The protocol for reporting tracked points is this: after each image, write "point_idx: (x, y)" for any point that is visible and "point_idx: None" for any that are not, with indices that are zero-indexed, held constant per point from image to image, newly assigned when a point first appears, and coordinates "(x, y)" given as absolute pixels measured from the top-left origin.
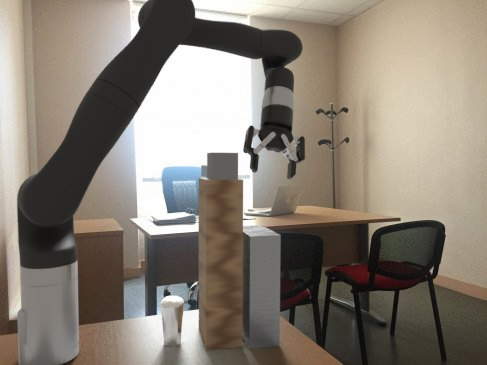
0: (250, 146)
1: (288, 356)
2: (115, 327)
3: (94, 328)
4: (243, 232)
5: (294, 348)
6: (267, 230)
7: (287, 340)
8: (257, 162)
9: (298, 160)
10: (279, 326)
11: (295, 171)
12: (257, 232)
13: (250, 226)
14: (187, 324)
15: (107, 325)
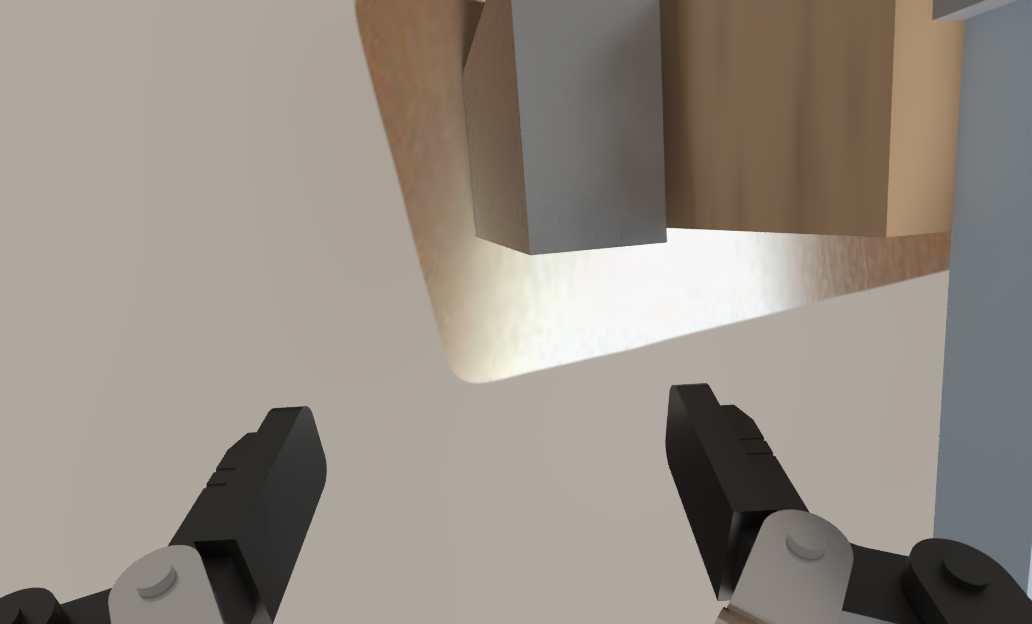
0: (945, 593)
1: (453, 15)
2: (829, 256)
3: (871, 258)
4: (659, 70)
5: (426, 55)
6: (539, 87)
7: (432, 104)
8: (707, 435)
9: (102, 602)
10: (466, 62)
11: (223, 464)
12: (601, 36)
13: (596, 223)
14: (669, 248)
15: (846, 271)
